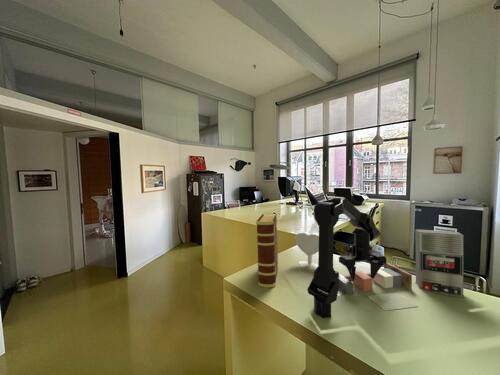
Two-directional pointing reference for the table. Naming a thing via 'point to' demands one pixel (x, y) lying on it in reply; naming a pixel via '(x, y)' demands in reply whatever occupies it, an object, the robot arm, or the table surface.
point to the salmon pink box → (363, 281)
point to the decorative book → (267, 250)
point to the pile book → (391, 301)
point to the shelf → (405, 275)
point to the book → (394, 277)
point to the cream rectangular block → (383, 279)
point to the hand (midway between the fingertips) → (362, 279)
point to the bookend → (344, 286)
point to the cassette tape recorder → (439, 261)
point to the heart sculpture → (308, 246)
